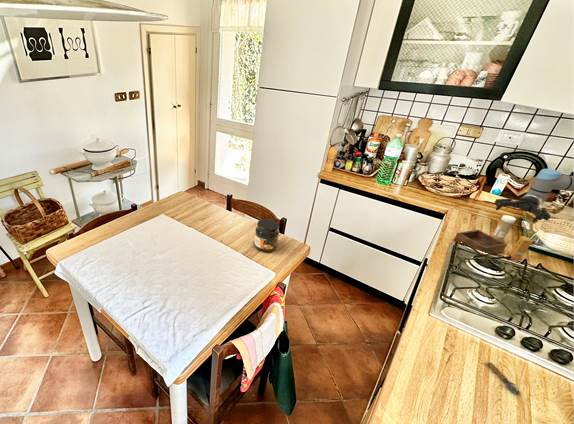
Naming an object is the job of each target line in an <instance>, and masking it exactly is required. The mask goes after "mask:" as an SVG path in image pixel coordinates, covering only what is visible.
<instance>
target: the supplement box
mask: <svg viewBox="0 0 574 424" xmlns="http://www.w3.org/2000/svg"><path fill="white" fill-rule="evenodd" d="M533 242H534V241H533V240H532V238H530V237H529V236H523V235H521V236H520V237H519V239H518V240H517V241H516V243H515V244H514V245H513V247H512V249H511V250H510V252H509V253H508V255H509V256H510V257H511V259H514V260H515V259H516V260H522V258H523V256H524V255H525V254H526V253H527V251H528V249H529V248H530V246H531V245H532V243H533Z"/></svg>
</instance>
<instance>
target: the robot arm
mask: <svg viewBox="0 0 574 424" xmlns="http://www.w3.org/2000/svg"><path fill="white" fill-rule="evenodd" d="M553 190H557V191H564V192H565V191H566V192H574V175H567V174H563V173H562V171H560V170H557V169H552V168H542V169H541V170H540V171H539V172H538V174H537V175H536V176H535V179H534V180H533V183H532V184H531V185H530V187H529V189H528V190H527V192H526V193H525V195H523V196H522V197H520V198H519V199H518V200H514V198H512V197H509V198H496V199H495V200H494V203H493V204H494V205H495V211H499V210H500V209H502V208H503V207H506V208H513V209H519V210H520V211H522V212H528V213H530V214H532V215H534V216H535V217H534V218H533V219H532V221H531V223H535V222H537V221H542V220H544V221H549V220H550V219H551V216H552V215H551V214H550V213H549V211H547V208H546V207H540V206H541V205H542V204H543V203H545V202H546V201H547V199H548V197H549V195H550V193H551V192H552V191H553Z"/></svg>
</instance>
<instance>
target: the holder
mask: <svg viewBox="0 0 574 424" xmlns="http://www.w3.org/2000/svg"><path fill="white" fill-rule="evenodd" d="M453 241H454V242H456V243H457V244H459V243H461V242H465V243H466V244H468V245H470V246H472V247H474V248H476V249H478V250H480V251H482V252H485V253H488V254H490V255H494V254H500V253H504V251H505V249H506V247H507V246H508V244H507V243H506V242H504V241H502V242H501V241H500V240H498V239H496V238H494V237H492V235H490V234H488V233H486V232H484V231H482V230H480V229H473V230H472V229H471V230H466V231H460V232H457V233H456V234H455V236H454V238H453Z"/></svg>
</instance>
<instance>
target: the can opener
mask: <svg viewBox="0 0 574 424" xmlns="http://www.w3.org/2000/svg"><path fill="white" fill-rule="evenodd" d="M487 365H488V367H489V368H490V369H491V370H492V371H493V372H494V373H495V374H496V375H498V376H499V378H500V379H502V381H503V382H505V385H506V387H507V388H508V389H509V391H510V392H512V393H514V394H515V395H517V396H518V393H520V390H519V389H518V388H517V385H516V384H515V383H513V382H511V381H509V379H508V377H506V376H505V375H504V374H503V373H502V371H500V369H499V368H498V367H497V366H496V365H495V364H493V363H492V362H488V363H487Z"/></svg>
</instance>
